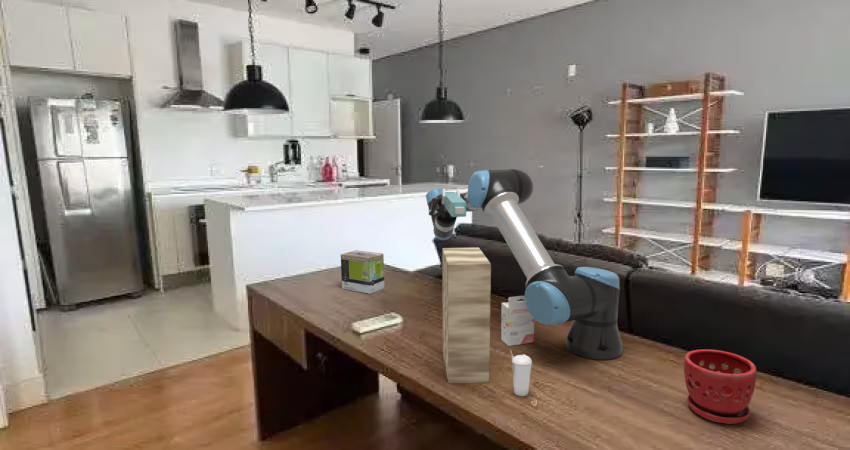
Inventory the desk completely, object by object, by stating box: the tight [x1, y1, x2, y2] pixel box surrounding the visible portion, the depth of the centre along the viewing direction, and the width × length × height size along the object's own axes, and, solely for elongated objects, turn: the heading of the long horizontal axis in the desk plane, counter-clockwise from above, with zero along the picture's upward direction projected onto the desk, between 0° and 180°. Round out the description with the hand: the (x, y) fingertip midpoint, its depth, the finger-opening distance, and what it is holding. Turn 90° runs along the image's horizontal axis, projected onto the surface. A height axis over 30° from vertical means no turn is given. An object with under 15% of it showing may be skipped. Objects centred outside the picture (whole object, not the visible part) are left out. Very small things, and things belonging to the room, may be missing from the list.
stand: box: [441, 247, 492, 384], centre depth 122 cm, size 18×10×30 cm, turn 3°
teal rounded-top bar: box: [444, 191, 467, 218], centre depth 144 cm, size 33×4×4 cm, turn 3°
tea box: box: [340, 249, 385, 295], centre depth 192 cm, size 15×10×15 cm, turn 58°
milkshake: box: [509, 349, 533, 397], centre depth 111 cm, size 4×5×10 cm
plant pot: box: [683, 348, 757, 424], centre depth 102 cm, size 13×13×12 cm
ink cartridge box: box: [500, 295, 535, 347], centre depth 139 cm, size 9×5×15 cm, turn 105°
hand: (451, 192), depth 152 cm, fingers closed on teal rounded-top bar, 4 cm apart
